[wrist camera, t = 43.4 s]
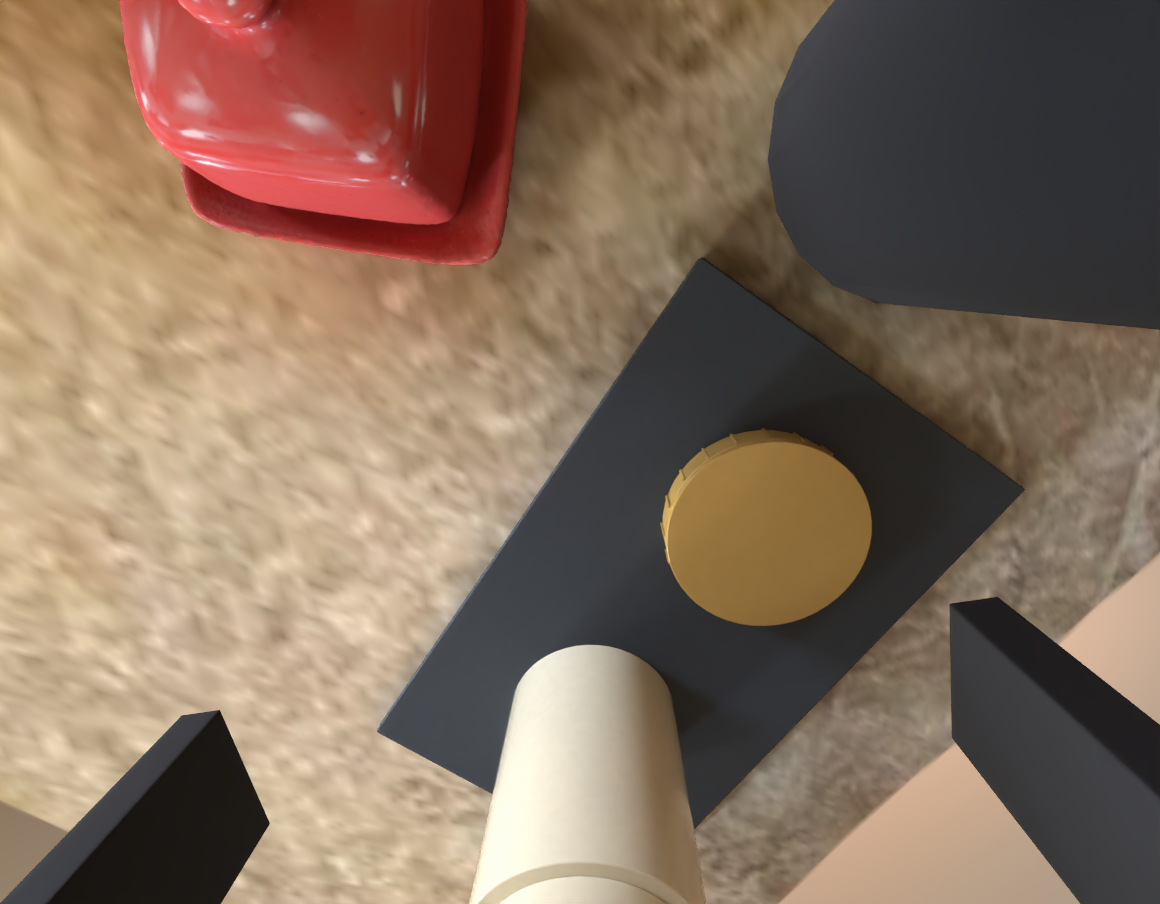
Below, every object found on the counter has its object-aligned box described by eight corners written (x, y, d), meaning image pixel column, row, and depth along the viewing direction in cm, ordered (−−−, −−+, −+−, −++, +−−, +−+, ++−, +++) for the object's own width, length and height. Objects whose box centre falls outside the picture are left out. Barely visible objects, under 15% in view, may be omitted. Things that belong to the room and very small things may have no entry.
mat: (646, 866, 30) (647, 877, 30) (380, 723, 28) (375, 732, 28) (1016, 484, 23) (1026, 489, 23) (699, 257, 21) (702, 256, 21)
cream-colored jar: (614, 801, 28) (620, 1130, 17) (482, 729, 27) (401, 1030, 16) (707, 697, 26) (780, 996, 15) (568, 615, 25) (542, 871, 14)
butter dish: (545, -97, 18) (499, -397, 10) (506, 274, 22) (448, 273, 14) (190, -153, 18) (-142, -500, 10) (207, 229, 22) (-33, 199, 14)
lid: (848, 412, 22) (867, 422, 20) (860, 589, 24) (878, 611, 23) (647, 447, 23) (650, 460, 21) (676, 616, 25) (681, 640, 23)
